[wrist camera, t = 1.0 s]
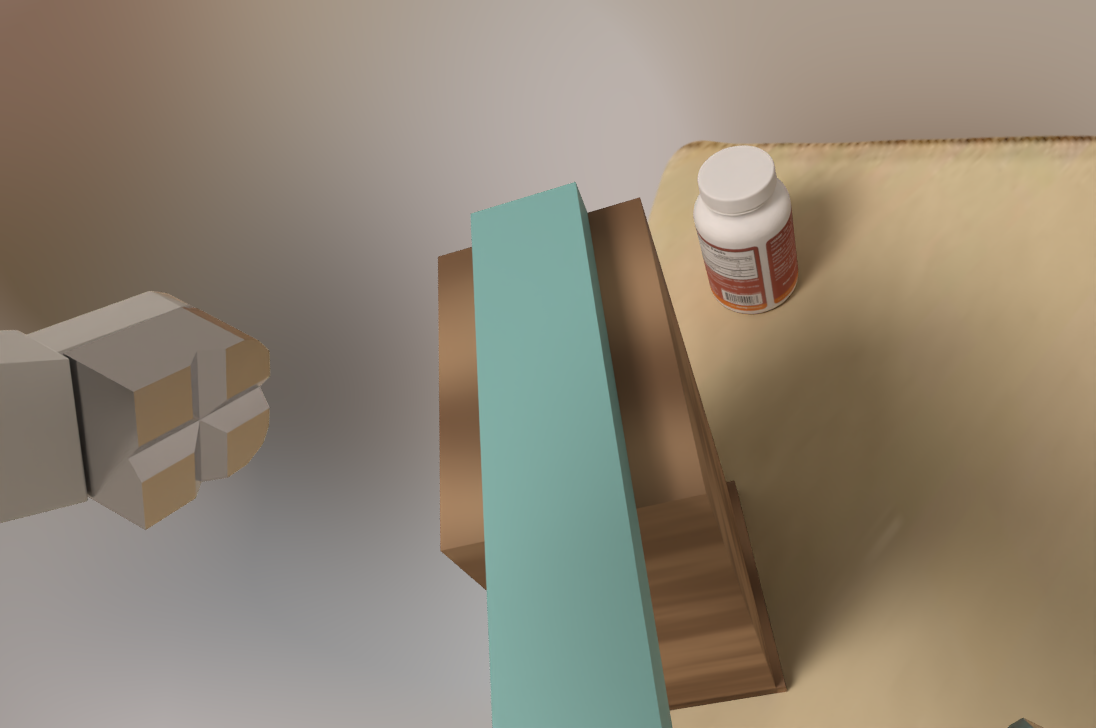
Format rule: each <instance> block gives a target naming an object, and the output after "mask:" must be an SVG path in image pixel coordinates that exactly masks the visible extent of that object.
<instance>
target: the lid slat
mask: <svg viewBox="0 0 1096 728" xmlns="http://www.w3.org/2000/svg"><path fill="white" fill-rule="evenodd" d="M471 233H472V257H473V281H474V304H475V328H476V352H477V375H478V399H479V422H480V446H481V469H482V493H483V517H484V540H485V564H486V587H487V611H488V634H489V656H490V657H489V658H490V681H491V705H492V728H672V722H671V716H670V710H669V704H668V698H667V692H666V686H665V680H664V674H663V668H662V662H661V656H660V650H659V643H658V637H657V631H656V625H655V619H654V613H653V607H652V601H651V595H650V589H649V583H648V577H647V571H646V565H645V559H644V553H643V547H642V540H641V534H640V528H639V522H638V516H637V510H636V504H635V498H634V492H633V486H632V480H631V474H630V468H629V462H628V456H627V450H626V444H625V437H624V431H623V425H622V419H621V413H620V407H619V401H618V395H617V389H616V383H615V377H614V371H613V365H612V359H611V353H610V347H609V340H608V334H607V328H606V322H605V316H604V310H603V304H602V298H601V292H600V286H599V280H598V274H597V268H596V262H595V256H594V250H593V244H592V237H591V231H590V225H589V219H588V213H587V211H586V208H585V205H584V203H583V200H582V197H581V195H580V192H579V190H578V187H577V184H576V183H575V182H574V183H571V184H567V185H564V186H561V187H558V188H554V189H551V190H547V191H544V192H541V193H537V194H534V195H531V196H528V197H524V198H521V199H518V200H515V201H511V202H508V203H505V204H501V205H498V206H495V207H491V208H488V209H485V210H482V211H478V212H475V213H472V214H471Z"/></svg>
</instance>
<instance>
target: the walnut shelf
mask: <svg viewBox="0 0 1096 728" xmlns="http://www.w3.org/2000/svg"><path fill="white" fill-rule="evenodd" d="M588 219H589V225H590V231H591V237H592V244H593V250H594V256H595V262H596V268H597V274H598V280H599V286H600V292H601V298H602V304H603V310H604V316H605V322H606V328H607V334H608V340H609V347H610V353H611V359H612V365H613V371H614V377H615V383H616V389H617V395H618V401H619V407H620V413H621V419H622V425H623V431H624V437H625V444H626V450H627V456H628V462H629V468H630V474H631V480H632V486H633V492H634V498H635V504H636V510H637V516H638V522H639V528H640V534H641V540H642V547H643V553H644V559H645V565H646V571H647V577H648V583H649V589H650V595H651V601H652V607H653V613H654V619H655V625H656V631H657V637H658V643H659V650H660V656H661V662H662V668H663V674H664V680H665V686H666V692H667V698H668V704H669V710H675V709H681V708H687V707H693V706H700V705H706V704H712V703H718V702H724V701H730V700H737V699H743V698H749V697H755V696H761V695H768V694H774V693H780V692H786V691H787V689H786V685H785V681H784V677H783V673H782V669H781V665H780V661H779V657H778V653H777V649H776V645H775V641H774V637H773V633H772V629H771V625H770V621H769V617H768V613H767V609H766V605H765V601H764V597H763V593H762V589H761V585H760V581H759V577H758V573H757V569H756V565H755V561H754V557H753V553H752V549H751V545H750V541H749V537H748V533H747V529H746V525H745V521H744V517H743V513H742V509H741V504H740V500H739V496H738V492H737V489H736V485H735V481H731V482H726V480H725V477H724V474H723V470H722V467H721V464H720V461H719V457H718V454H717V451H716V447H715V444H714V441H713V437H712V434H711V431H710V427H709V424H708V421H707V418H706V414H705V411H704V408H703V404H702V401H701V398H700V394H699V391H698V388H697V384H696V381H695V378H694V375H693V371H692V368H691V365H690V361H689V358H688V355H687V351H686V348H685V345H684V341H683V338H682V335H681V332H680V328H679V325H678V322H677V318H676V315H675V312H674V308H673V305H672V302H671V298H670V295H669V292H668V289H667V285H666V282H665V279H664V275H663V272H662V269H661V265H660V262H659V259H658V255H657V252H656V249H655V246H654V242H653V239H652V236H651V232H650V229H649V226H648V222H647V219H646V216H645V213H644V209H643V206H642V203H641V199H640V198H637V199H633V200H630V201H626V202H623V203H619V204H616V205H613V206H609V207H606V208H603V209H599V210H596V211H592V212H589V213H588ZM438 284H439V285H438V294H439V295H438V301H439V413H440V414H439V415H440V417H439V419H440V421H439V422H440V424H439V425H440V538H441V541H440V542H441V543H440V545H441V546H440V548H441V552H443V553H444V554H445V555H446V556H447V557H448V558H450V559H451V560H452V561H453V562H454V563H455V564H457V565H458V566H459V567H460V568H461V569H462V570H463V571H465V572H466V573H467V574H468V575H469V576H470V577H471V578H473V579H474V580H475V581H476V582H477V583H479V584H480V585H481V586H482V587H483V588H484V589H485V590H487V587H486V564H485V540H484V517H483V493H482V469H481V446H480V422H479V399H478V375H477V352H476V328H475V304H474V281H473V257H472V247H470V248H467V249H463V250H460V251H456V252H453V253H449V254H446V255H443V256H439V257H438Z"/></svg>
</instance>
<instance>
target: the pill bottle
mask: <svg viewBox="0 0 1096 728" xmlns="http://www.w3.org/2000/svg"><path fill="white" fill-rule="evenodd" d="M698 186H699V191H700V194H699V196H698V198H697V200H696V202H695V206H694V221H695V226H696V230H697V234H698V238H699V242H700V246H701V250H702V255H703V259H704V263H705V267H706V271H707V275H708V279H709V283H710V287H711V290H712V293H713V295H714V297H715V298H716V299H717V301H718V302H719V303H720V304H722V305H723V306H724V307H726V308H728V309H730V310H732V311H735V312H738V313H744V314H758V313H762V312H766V311H769V310H771V309H773V308H775V307H777V306H779V305H780V304H782V303H783V302H784V301H785V300H786V299H787V298H788V297H789V296H790V295H791V293H792V292H793V290H794V289H795V287H796V284H797V280H798V264H797V254H796V246H795V236H794V227H793V217H792V208H791V201H790V196H789V193H788V190H787V188H786V187H785V185H784V184H783V183H782V182H781V181H780V180H779V179H778V178H777V176H776V172H775V166H774V162H773V160H772V158H771V157H770V155H769V154H768V153H767V152H765V151H764V150H762V149H759V148H757V147H753V146H734V147H729V148H726V149H723V150H721V151H719V152H717V153H715V154H713V155H712V156H711V157H709V158H708V159H707V160H706V161H705V162H704V164H703V165H702V166H701V168H700V171H699V173H698Z"/></svg>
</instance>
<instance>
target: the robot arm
mask: <svg viewBox="0 0 1096 728" xmlns="http://www.w3.org/2000/svg"><path fill="white" fill-rule="evenodd" d="M269 377H270V358H269V350H268V349H267V348H266V347H265V346H264V345H263V344H262V343H260V341H259V340H257V339H255V338H253V337H251V336H249V335H247V334H245V333H243V332H242V331H240V330H238V329H236V328H234V327H232V326H230V325H228V324H227V323H225V322H223V321H221V320H219V319H217V318H215V317H213V316H211V315H209V314H208V313H206V312H204V311H202V310H200V309H198V308H194V307H192V306H191V305H189V304H187V303H185V302H183V301H181V300H179V299H177V298H176V297H173V296H172V295H170V294H168V293H163V292H155V291H148V292H146V293H143V294H140V295H137V296H134V297H131V298H129V299H126V300H123V301H120V302H117V303H115V304H112V305H109V306H106V307H104V308H100V309H98V310H95V311H92V312H89V313H86V314H84V315H81V316H78V317H75V318H73V319H70V320H67V321H64V322H61V323H58V324H55V325H53V326H50V327H47V328H44V329H41V330H39V331H36V332H33V333H30V334H27V335H25V334H23V333H21V332H20V331H18V330H2V331H0V523H3V522H7V521H10V520H15V519H18V518H23V517H26V516H30V515H35V514H38V513H42V512H46V511H50V510H54V509H58V508H62V507H66V506H70V505H74V504H78V503H82V502H86V501H87V500H88V497H89V498H91V499H93V500H95V501H96V502H98V503H100V504H101V505H103V506H105V507H107V508H108V509H110V510H112V511H114V512H115V513H117V514H119V515H120V516H122V517H124V518H126V519H127V520H129V521H131V522H132V523H134V524H136V525H138V526H139V527H141V528H143V529H145V530H146V529H148V528H149V527H151V526H153V525H154V524H156V523H157V522H159V521H161V520H162V519H163V518H165V517H167V516H168V515H170V514H171V513H173V512H175V511H176V510H178V509H179V508H180V507H182V506H184V505H186V504H187V503H189V502H190V501H192V500H193V499H195V498H196V496H197V493H198V490H199V488H200V485H201V482H204V481H210V480H216V479H222V478H227V477H229V476H231V475H232V474H234V473H235V472H236V471H238V470H239V469H241V468H242V467H244V466H245V465H247V464H248V463H249V461H250V460H251V459H252V457H253V456H254V455H255V453H256V452H257V451H258V450H259V448H260V447H261V445H262V444H263V442H264V438H265V436H266V433H267V430H268V427H269V406H268V404H267V402H266V399H265V397H264V395H263V393H262V391H261V389H260V386H261V385H262V384H263V383H264V382H265V381H266V380H267V379H268V378H269ZM1008 728H1043V727H1041V726H1039V725H1037V724H1035V723H1033V722H1031V721H1029V720H1027V719H1025V718H1022V719H1020V720H1018V721H1016V722H1015V723H1013V724H1011V725H1010V726H1009V727H1008Z"/></svg>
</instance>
